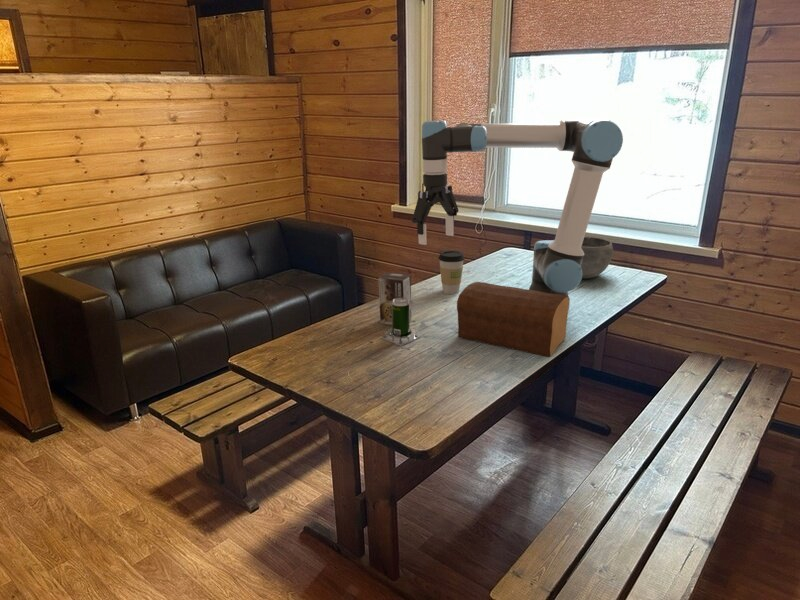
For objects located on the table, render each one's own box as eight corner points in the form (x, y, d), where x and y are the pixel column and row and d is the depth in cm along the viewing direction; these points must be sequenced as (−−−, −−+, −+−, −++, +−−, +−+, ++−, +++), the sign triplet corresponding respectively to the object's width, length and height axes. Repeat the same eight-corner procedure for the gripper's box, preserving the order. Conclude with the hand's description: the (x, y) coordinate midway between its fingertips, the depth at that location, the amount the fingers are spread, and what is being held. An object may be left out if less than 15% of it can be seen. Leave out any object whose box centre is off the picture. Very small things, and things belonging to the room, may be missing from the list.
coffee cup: (464, 295, 217) (465, 257, 212) (438, 295, 218) (439, 257, 212) (462, 287, 227) (463, 250, 222) (437, 287, 227) (437, 250, 222)
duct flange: (421, 337, 182) (421, 332, 181) (400, 346, 176) (400, 340, 175) (400, 329, 188) (400, 324, 187) (379, 337, 182) (379, 332, 181)
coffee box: (412, 320, 195) (411, 274, 189) (404, 327, 189) (403, 280, 184) (387, 316, 199) (386, 271, 193) (379, 323, 193) (377, 277, 188)
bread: (549, 360, 166) (553, 307, 160) (455, 339, 180) (455, 290, 175) (567, 337, 180) (571, 288, 175) (478, 320, 195) (480, 274, 189)
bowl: (617, 284, 228) (621, 246, 222) (563, 284, 228) (566, 247, 223) (600, 268, 247) (604, 233, 242) (550, 268, 248) (553, 234, 242)
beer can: (406, 340, 178) (406, 303, 174) (390, 338, 180) (389, 302, 176) (411, 333, 183) (411, 297, 179) (395, 331, 185) (394, 296, 181)
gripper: (450, 167, 191) (451, 230, 198) (398, 177, 174) (401, 246, 181) (469, 168, 186) (469, 233, 193) (417, 179, 169) (419, 249, 176)
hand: (436, 239), depth 187 cm, fingers open, 13 cm apart
